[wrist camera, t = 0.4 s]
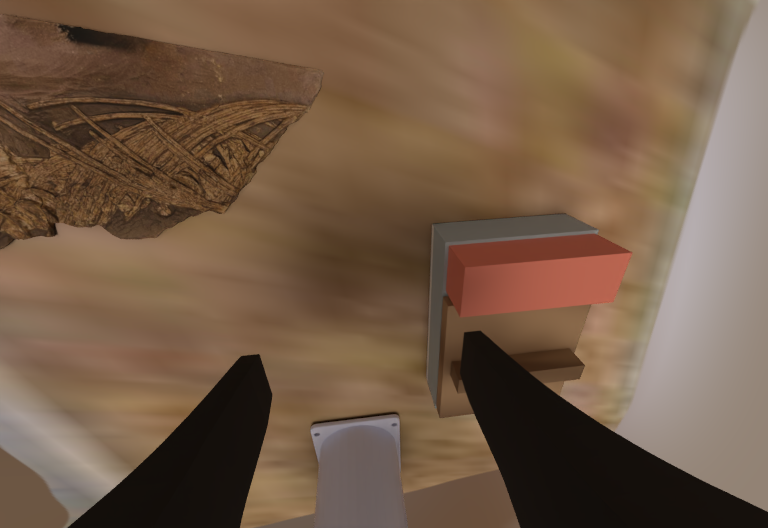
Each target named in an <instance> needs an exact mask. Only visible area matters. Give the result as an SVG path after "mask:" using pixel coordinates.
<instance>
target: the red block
mask: <svg viewBox="0 0 768 528" xmlns="http://www.w3.org/2000/svg"><path fill="white" fill-rule="evenodd" d="M631 255H632V252H630V251H628V250H626V249H624V248H622V247H620V246H618V245H616V244H614V243H612V242H610V241H609V240H607V239H605V238H603V237H601V236H599V235H597V234H595V233H593V234H581V235H569V236H557V237H545V238H533V239H521V240H509V241H496V242H484V243H472V244H460V245H449V251H448V266H447V281H446V292H447V294H448V296H449V298H450V300H451V301H452V303H453V305H454V307H455V309H456V311H457V313H458V315H459V316H460V318H461V317H471V316H481V315H491V314H501V313H511V312H520V311H530V310H540V309H550V308H560V307H569V306H579V305H589V304H599V303H609V302H613V301H614V299H615V296H616V294H617V291H618V289H619V286H620V283H621V281H622V278H623V276H624V273H625V271H626V268H627V266H628V263H629V260H630V258H631Z"/></svg>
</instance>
